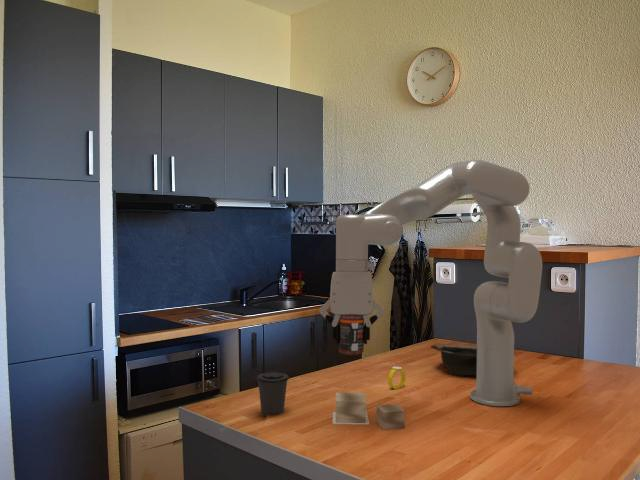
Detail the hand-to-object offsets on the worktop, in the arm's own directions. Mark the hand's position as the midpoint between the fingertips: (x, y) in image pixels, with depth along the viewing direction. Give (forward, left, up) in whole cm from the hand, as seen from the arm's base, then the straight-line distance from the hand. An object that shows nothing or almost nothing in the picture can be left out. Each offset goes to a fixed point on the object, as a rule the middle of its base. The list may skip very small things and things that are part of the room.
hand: (351, 342), depth 135 cm
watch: (-14, -28, -19) cm, 37 cm away
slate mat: (-2, -1, -19) cm, 19 cm away
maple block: (0, 0, -18) cm, 18 cm away
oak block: (-9, +5, -18) cm, 21 cm away
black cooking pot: (-40, -49, -19) cm, 66 cm away
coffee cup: (+19, -4, -19) cm, 27 cm away
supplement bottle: (0, 0, -3) cm, 3 cm away
